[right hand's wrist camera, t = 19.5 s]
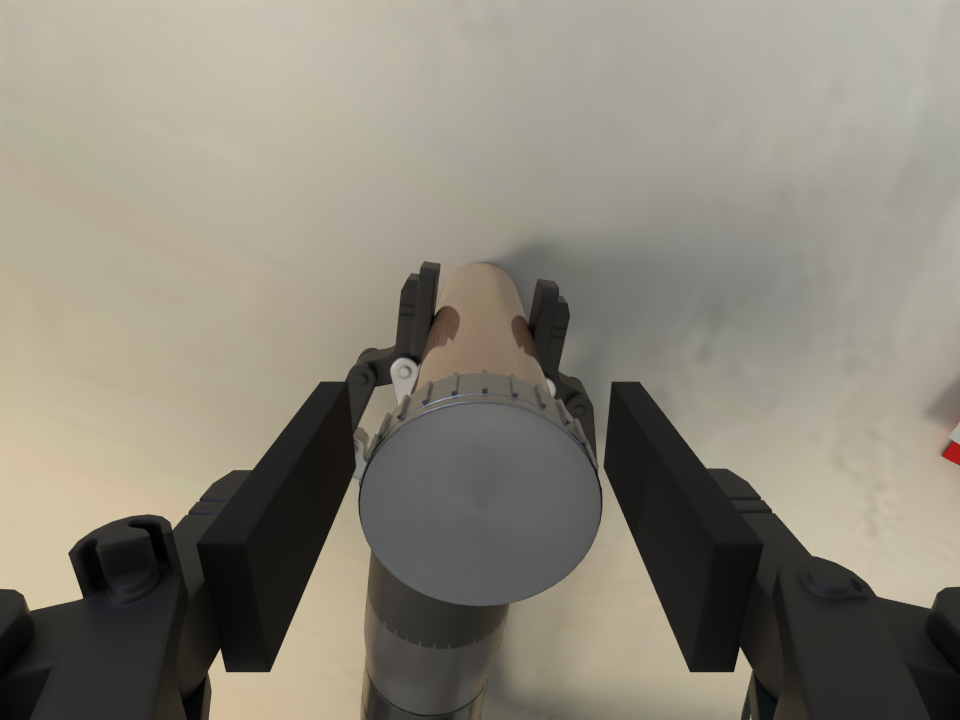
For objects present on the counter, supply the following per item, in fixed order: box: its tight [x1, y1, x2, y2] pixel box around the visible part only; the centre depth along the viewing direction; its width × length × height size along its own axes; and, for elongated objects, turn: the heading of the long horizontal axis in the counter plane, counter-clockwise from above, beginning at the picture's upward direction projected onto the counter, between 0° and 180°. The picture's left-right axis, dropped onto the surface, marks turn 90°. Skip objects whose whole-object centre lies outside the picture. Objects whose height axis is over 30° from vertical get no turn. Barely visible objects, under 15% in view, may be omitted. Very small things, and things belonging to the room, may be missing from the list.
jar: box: [409, 263, 551, 396], centre depth 20 cm, size 4×4×18 cm
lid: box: [358, 370, 602, 606], centre depth 11 cm, size 5×5×2 cm
